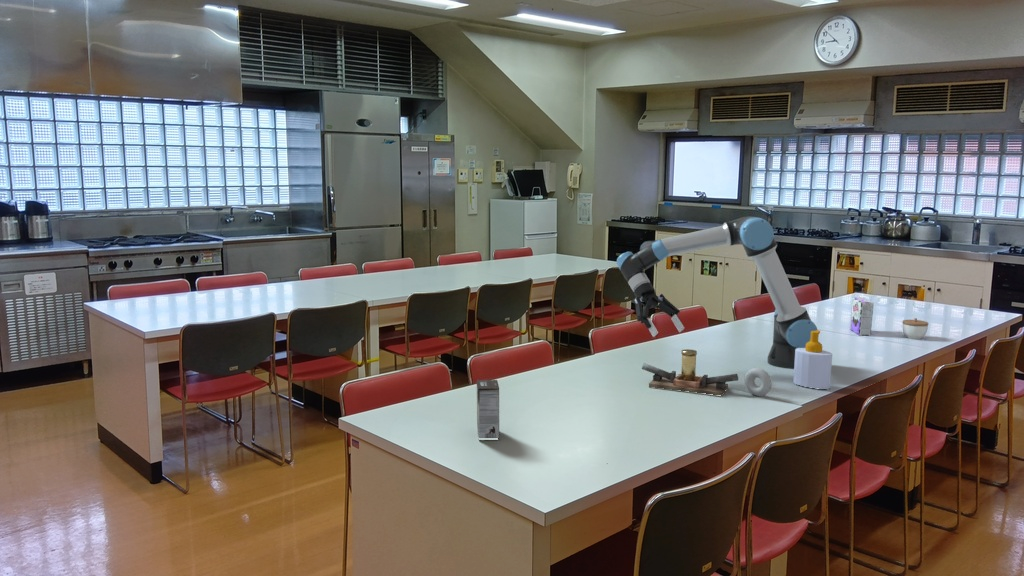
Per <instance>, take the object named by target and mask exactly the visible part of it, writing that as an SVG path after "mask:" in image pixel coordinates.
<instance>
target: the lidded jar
mask: <svg viewBox="0 0 1024 576" xmlns="http://www.w3.org/2000/svg"><path fill="white" fill-rule="evenodd" d="M901 326H902V332H903V334H904V336H906V338H907V339H910V340H921V339H922V338H923V337H925V336H926V334H927V332H928V328H929V327H928V326H929V322H928V321H926V320H921V319H918V318H916V317H915V318H914V319H903V320H902V325H901Z"/></svg>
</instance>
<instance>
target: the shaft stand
mask: <svg viewBox="0 0 1024 576" xmlns="http://www.w3.org/2000/svg"><path fill="white" fill-rule="evenodd" d="M641 369H642V370H644V371H647V372H649V373H652V374H653V375H652V380H651V381H650V382H649V383H648V388H650V387H655V388H654V389H658V388H664V389H663V390H665V389H672V390H671V391H673V390H681V391H689V392H697V393H706V394H713V395H721V396H722V397H723V395H724V394H725V393H726V391H727V390H728V389H729V383H730V382H736V381H737V382H738V381H739V374H738V373H733V374H726V375H725V374H724V375H717V376H709V375H708V374H704V375H703V376H700V375H695V380H696V382H692V381H684V380H681V373H679V374H677V371H676V370H672V371H670V372H669V371H666V370H664V369H661V368H659V367H656V366H654V365H650V364H648V363H645V362H643V365H642V367H641ZM708 376H709V377H708ZM728 382H729V383H728ZM727 388H728V389H727ZM726 389H727V390H726ZM725 390H726V391H725ZM681 391H680V392H681ZM724 392H725V393H724ZM723 393H724V394H723ZM722 394H723V395H722Z"/></svg>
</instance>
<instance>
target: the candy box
mask: <svg viewBox="0 0 1024 576" xmlns="http://www.w3.org/2000/svg"><path fill="white" fill-rule="evenodd" d="M851 301H852V302H851V314H850V316H851V317H850V328H849V330H850V331H852V332H853V333H854V334H856V335H858V336H860V337H861V336H862V337H864V336H866V337H871V336H872V327H873V326H872V324H873V314H874V303H875V302H872V301H871V300H869V299H868V298H865V297H852V300H851Z"/></svg>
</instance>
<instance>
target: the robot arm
mask: <svg viewBox="0 0 1024 576" xmlns="http://www.w3.org/2000/svg"><path fill="white" fill-rule="evenodd" d="M774 234H775V233H774V229H773V226H772V225H771V224H770V222H768V220H766V219H764V218H761V217H757V216H754V215H753V216H752V215H749V216H748V215H747V216H743V217H740V218H737V219H734V220H731V221H725V222H724V223H723V224H722V225H719V226H714V227H710V228H706V229H702V230H697V231H693V232H687V233H682V234H678V235H675V236H669V237H665V238H661V239H657V240H647V241H644V242H643V243H642V244H640V247H639V251H637V252H636V253H633V252H632V251H626V252H623V253H621V254H620V255H619V256H618V257H617V258H616V264H617V267H618V269H619V271H620V272H621V274H622V275H623V278H624V280H625V281H626V282H627V284H628V286H630V289H631V290H632V292H633V294H634V296H635V299H634V300H633V304H634V306H635V313H636V319H637V322H640V323H641V324H642V325H643V324H644V326H645V327H646V328H647V329H648V330H649V333H650V334H651V336H652V338H655V337H656V336H657V335H658V333H659V331H658V329H657V327H656V326H655V324H654V323H653V321H652V319H651V318H649V312H650V309H656V310H660V311H661V312H663V313H665V314H666V315H668V316H669V317H670V320H671V321H672V323H673V324H674V326H675V327H676V329H677V331H678V332H679V333H681V332H682V331H684V329H685V326H684V325H683V323H682V321H681V318H680V317H679V313H681V312H680V309H678V308H677V307H676V306H675V305H674V304H673V303H671V302H670V301H669V300H668V299H667V298H666V296H664V294H663V293H661V294H660V295H657V294H656V289H655V287H654V286H653V284H652V283H651V281H650V279H649V278H648V276H647V274H646V273H645V272H644V271H646V270H648V269H650V268H652V266H654V265H656V264H658V263H659V262H661V261H663V260H664V259H666V258H668V257H671V256H672V257H673V256H677V255H682V254H686V253H692V252H695V251H701V250H704V249H709V248H714V247H719V246H724V245H727V246H728V247H729V246H730V247H731V246H736V245H737V246H738V245H739V246H740V245H742V247H743V249H744V251H745V253H746V255H747V257H748V258H750V259H751V260H753V261H754V263H755V266H756V268H757V270H758V272H759V275H760V277H761V279H762V282H763V284H764V286H765V288H766V290H767V293H768V294H769V297H770V300H771V301H772V304H773V306H774V308H775V310H774V315H773V318H774V319H773V336H772V345H771V348H770V350H769V352H768V355H767V363H768V365H769V364H770V365H772V366H776V367H780V368H787V367H792V368H791V369H794V364H795V350H796V348H806V344H807V342H810V339H811V331H816V330H818V328H817V325H816V324H815V323H814V321H812V320H811V317H810V315H809V313H808V311H807V310H808V309H806V307H804V306H802V305H801V304H800V303H799V300H798V298H797V296H796V293H795V292H794V289H793V288H792V285H791V282H790V281H789V278H788V276H787V274H786V272H785V269H784V267H783V264H782V262H781V260H780V258H779V255H778V253H777V252H776V249H777V247H778V242H777V241H776V239H775V235H774Z"/></svg>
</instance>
